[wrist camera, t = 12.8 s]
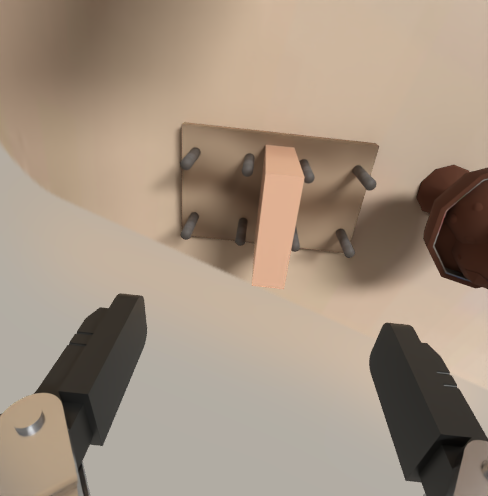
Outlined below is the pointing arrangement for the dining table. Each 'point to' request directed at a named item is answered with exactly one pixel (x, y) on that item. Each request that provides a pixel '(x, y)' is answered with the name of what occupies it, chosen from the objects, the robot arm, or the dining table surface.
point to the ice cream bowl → (457, 223)
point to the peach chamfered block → (276, 215)
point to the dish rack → (249, 184)
